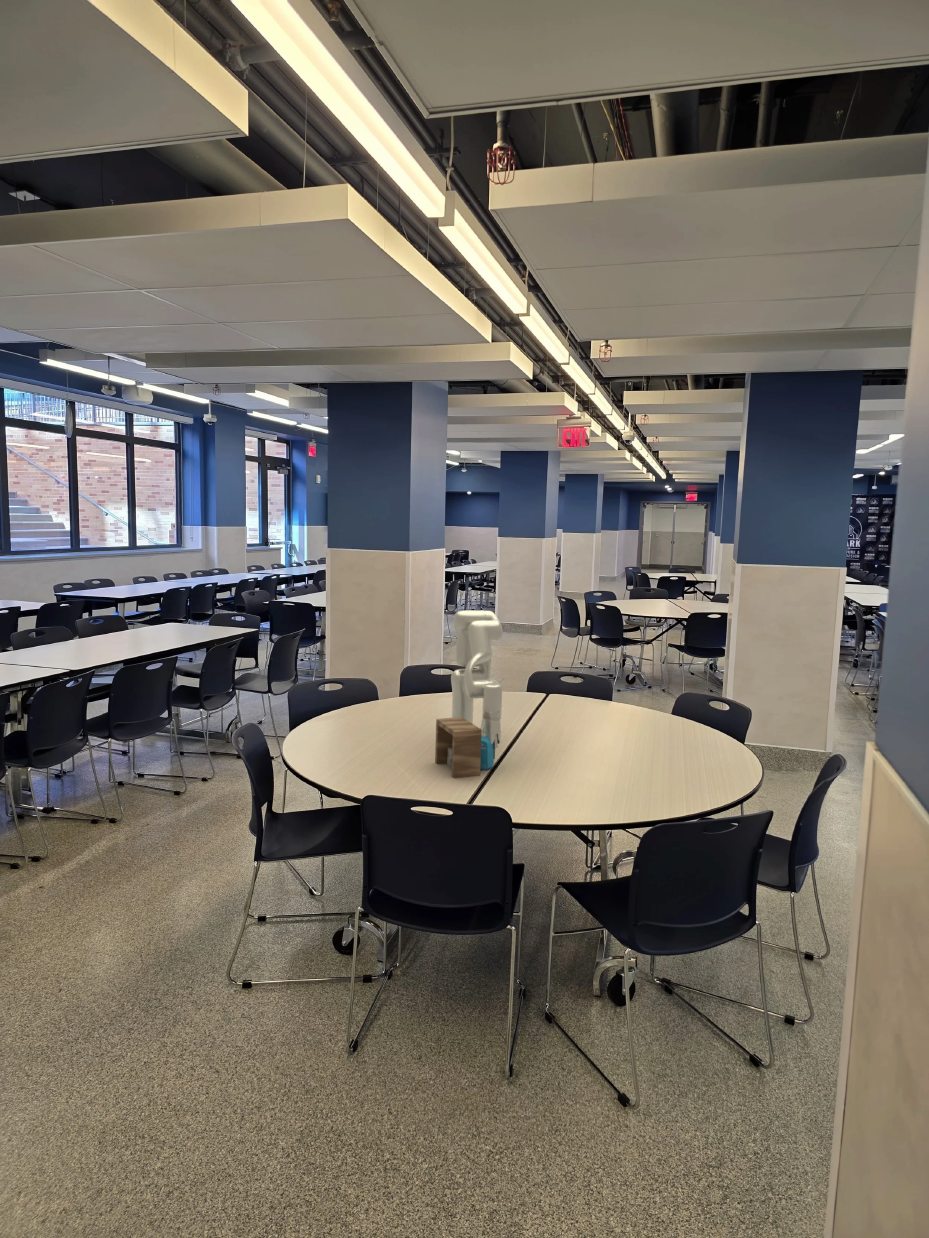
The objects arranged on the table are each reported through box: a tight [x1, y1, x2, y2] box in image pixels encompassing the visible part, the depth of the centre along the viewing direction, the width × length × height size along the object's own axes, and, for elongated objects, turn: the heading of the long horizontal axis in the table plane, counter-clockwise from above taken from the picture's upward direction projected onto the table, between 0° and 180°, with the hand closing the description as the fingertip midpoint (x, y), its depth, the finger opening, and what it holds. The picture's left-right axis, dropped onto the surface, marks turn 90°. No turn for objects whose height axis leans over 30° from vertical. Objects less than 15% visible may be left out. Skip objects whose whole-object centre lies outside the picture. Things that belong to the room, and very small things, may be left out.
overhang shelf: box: [434, 717, 482, 779], centre depth 289 cm, size 20×11×18 cm, turn 23°
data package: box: [480, 736, 495, 771], centre depth 292 cm, size 12×4×12 cm, turn 56°
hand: (490, 759), depth 295 cm, fingers closed
